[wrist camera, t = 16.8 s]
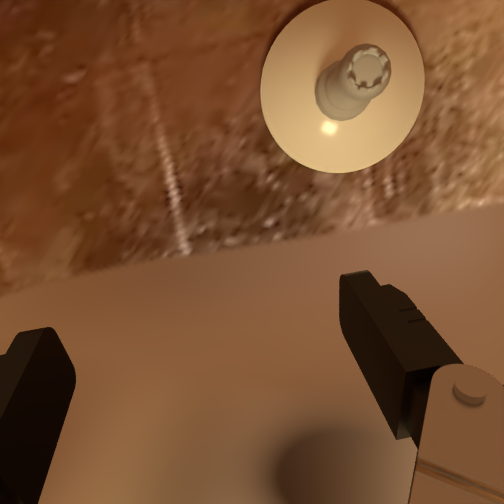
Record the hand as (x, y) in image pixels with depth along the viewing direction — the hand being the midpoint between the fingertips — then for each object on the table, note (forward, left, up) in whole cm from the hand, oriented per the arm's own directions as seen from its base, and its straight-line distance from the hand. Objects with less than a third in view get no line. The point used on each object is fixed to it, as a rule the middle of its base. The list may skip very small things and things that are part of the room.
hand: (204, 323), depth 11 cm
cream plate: (+9, +9, -24) cm, 27 cm away
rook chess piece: (+9, +9, -23) cm, 26 cm away
